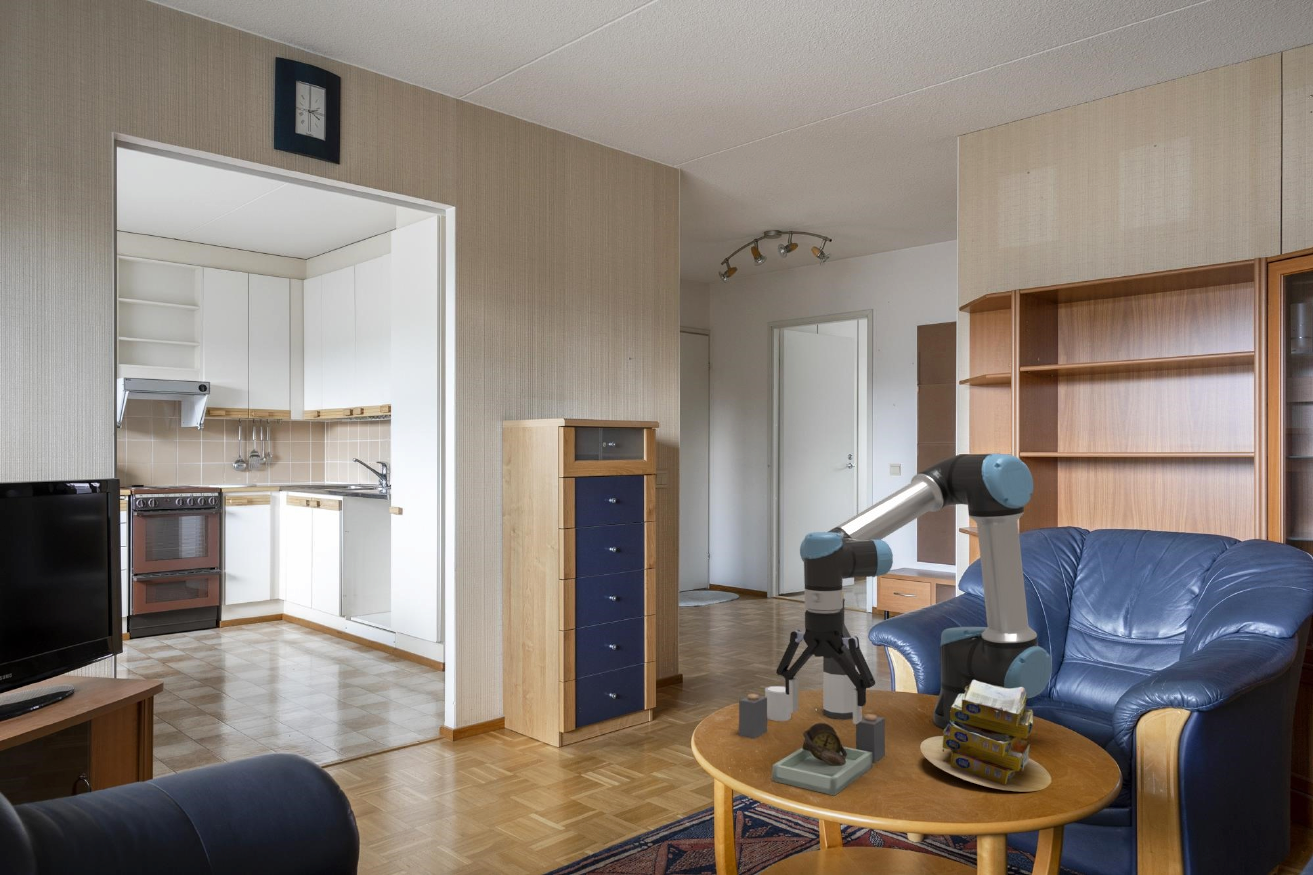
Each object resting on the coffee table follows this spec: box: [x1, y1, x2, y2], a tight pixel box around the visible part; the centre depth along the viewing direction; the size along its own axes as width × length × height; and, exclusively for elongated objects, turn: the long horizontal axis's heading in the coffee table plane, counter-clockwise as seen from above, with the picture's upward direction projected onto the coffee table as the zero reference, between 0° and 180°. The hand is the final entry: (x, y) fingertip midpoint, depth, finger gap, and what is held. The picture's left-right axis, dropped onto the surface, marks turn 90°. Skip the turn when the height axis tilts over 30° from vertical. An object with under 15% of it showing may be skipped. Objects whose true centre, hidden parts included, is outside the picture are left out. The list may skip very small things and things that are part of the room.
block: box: [855, 713, 886, 765], centre depth 185 cm, size 4×6×9 cm, turn 145°
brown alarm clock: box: [801, 722, 847, 766], centre depth 176 cm, size 7×13×10 cm
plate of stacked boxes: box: [919, 680, 1052, 792], centre depth 178 cm, size 25×25×17 cm
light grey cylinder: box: [764, 685, 792, 722], centre depth 214 cm, size 7×7×7 cm
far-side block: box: [738, 693, 768, 739], centre depth 201 cm, size 4×6×9 cm, turn 145°
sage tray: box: [771, 746, 873, 796], centre depth 175 cm, size 13×19×3 cm
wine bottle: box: [822, 592, 857, 720], centre depth 217 cm, size 8×8×30 cm
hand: (825, 716), depth 175 cm, fingers open, 13 cm apart
